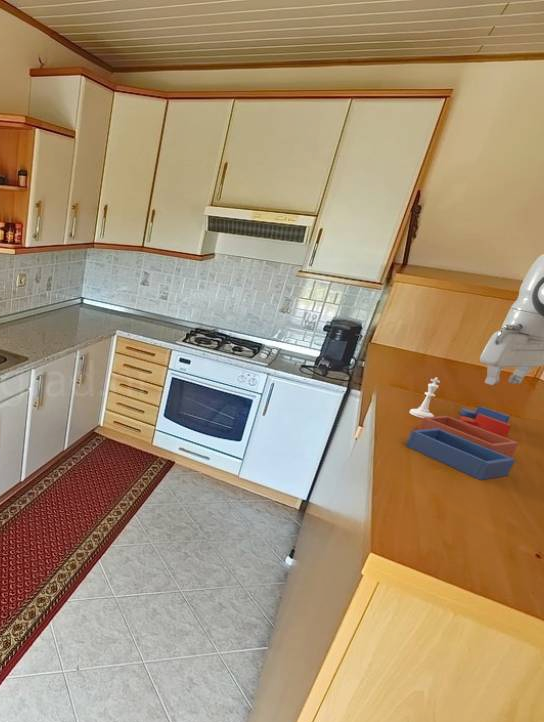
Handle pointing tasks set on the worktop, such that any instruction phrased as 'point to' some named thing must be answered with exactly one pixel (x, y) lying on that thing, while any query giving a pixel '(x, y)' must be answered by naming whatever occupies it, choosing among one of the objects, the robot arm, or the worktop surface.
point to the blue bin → (460, 453)
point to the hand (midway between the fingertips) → (502, 383)
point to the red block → (488, 424)
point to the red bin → (470, 434)
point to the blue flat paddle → (485, 414)
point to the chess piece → (426, 401)
